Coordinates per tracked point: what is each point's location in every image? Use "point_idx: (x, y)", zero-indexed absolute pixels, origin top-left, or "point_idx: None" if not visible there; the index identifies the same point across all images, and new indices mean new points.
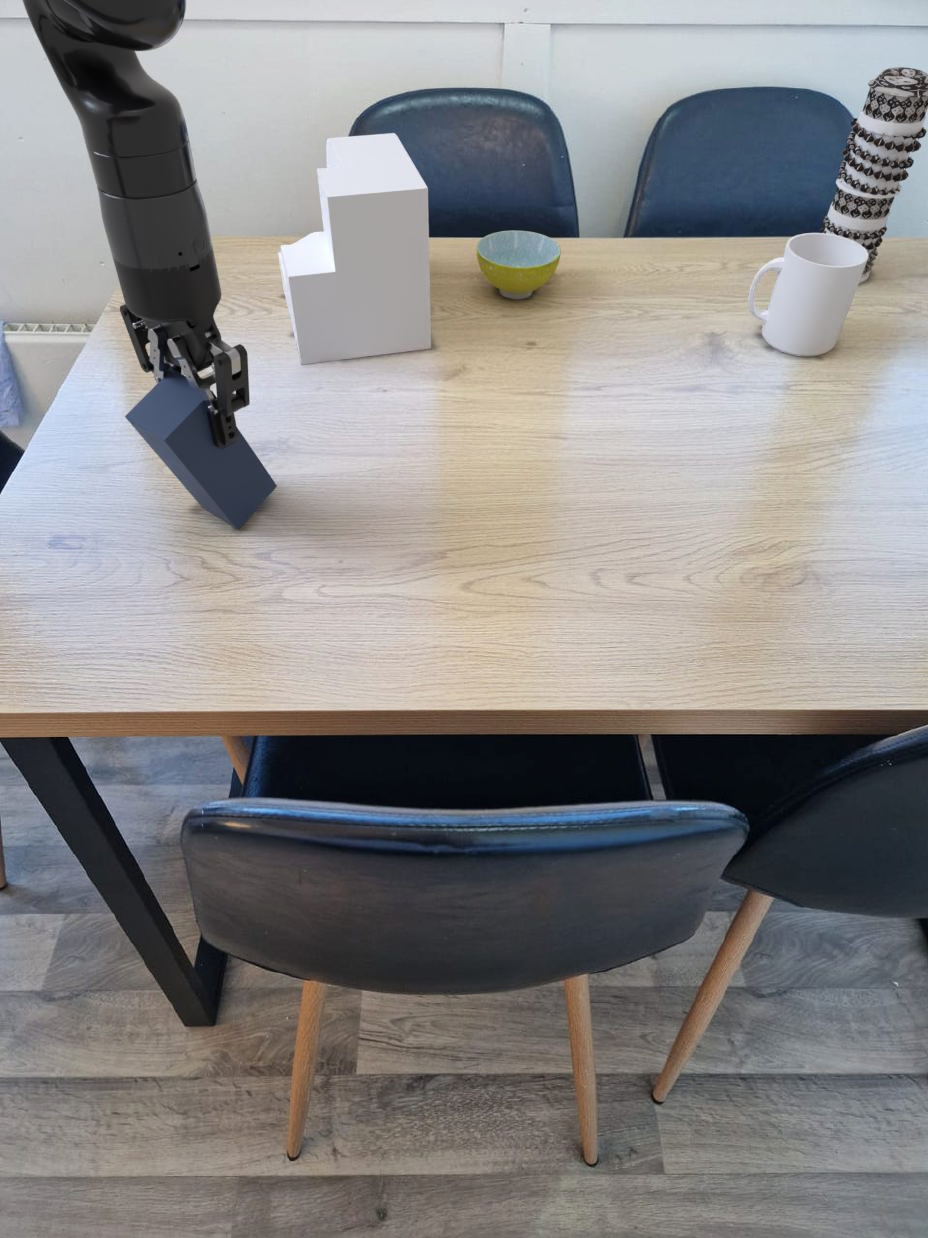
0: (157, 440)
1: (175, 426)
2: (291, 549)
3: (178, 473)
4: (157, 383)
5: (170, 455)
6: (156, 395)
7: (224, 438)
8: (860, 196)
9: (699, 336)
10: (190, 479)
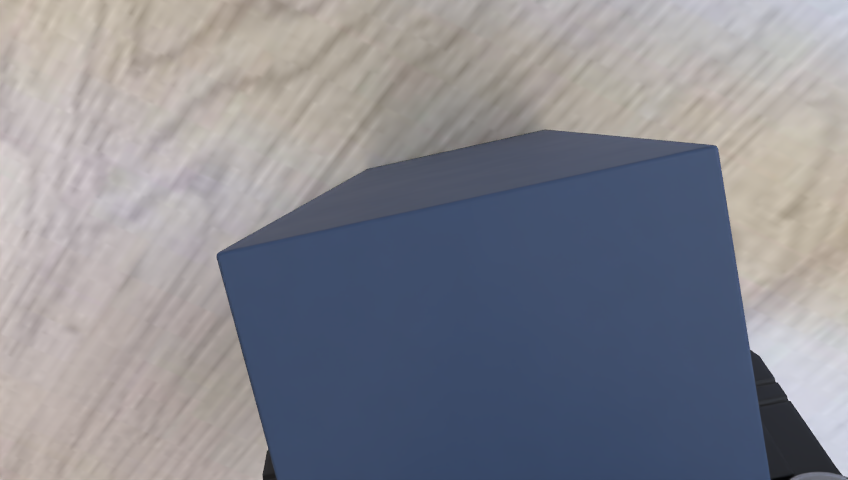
0: (386, 206)
1: (263, 383)
2: (191, 252)
3: (506, 151)
4: (835, 475)
5: (389, 192)
6: (670, 438)
7: (269, 463)
8: None
9: None
10: (403, 175)
